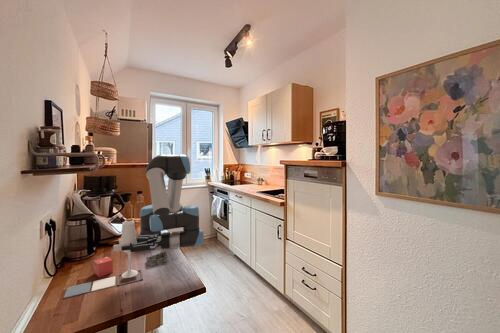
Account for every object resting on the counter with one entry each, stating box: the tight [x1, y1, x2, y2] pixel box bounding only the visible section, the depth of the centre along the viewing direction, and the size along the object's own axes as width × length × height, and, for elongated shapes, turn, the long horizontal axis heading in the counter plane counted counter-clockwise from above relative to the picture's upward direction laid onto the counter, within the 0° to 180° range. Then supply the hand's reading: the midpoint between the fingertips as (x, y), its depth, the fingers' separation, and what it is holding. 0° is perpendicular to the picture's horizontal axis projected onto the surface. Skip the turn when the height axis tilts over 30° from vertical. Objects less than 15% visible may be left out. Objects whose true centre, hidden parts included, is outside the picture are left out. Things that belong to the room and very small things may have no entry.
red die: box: [93, 256, 114, 278], centre depth 108 cm, size 6×6×7 cm
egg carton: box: [145, 250, 169, 267], centre depth 119 cm, size 11×8×4 cm
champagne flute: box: [120, 220, 139, 279], centre depth 102 cm, size 7×7×24 cm
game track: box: [62, 269, 144, 300], centre depth 98 cm, size 28×10×1 cm, turn 119°
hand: (116, 245), depth 101 cm, fingers closed on champagne flute, 7 cm apart
